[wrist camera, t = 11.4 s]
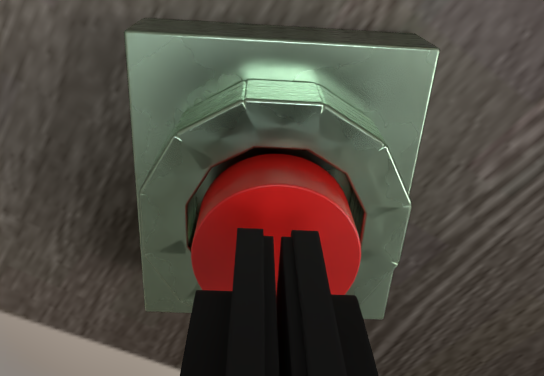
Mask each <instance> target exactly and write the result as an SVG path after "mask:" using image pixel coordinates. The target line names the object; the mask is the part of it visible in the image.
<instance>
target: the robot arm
mask: <svg viewBox="0 0 544 376" xmlns="http://www.w3.org/2000/svg"><path fill="white" fill-rule="evenodd" d="M180 376H378V372H377V368H376V365H375V361H374V357H373V353H372V350H371V346H370V342H369V339H368V335H367V331H366V327H365V324H364V320H363V316H362V313H361V309H360V305H359V302H358V299H357V297H356V296H355V295H335V294H331V292H330V287H329V282H328V277H327V272H326V267H325V261H324V256H323V251H322V246H321V241H320V236H319V232H318V231H307V230H292V231H291V237H283V236H282V237H281V244H280V256H279V269H278V281H277V294H276V282H275V259H274V237H273V236H264V234H263V229H256V228H237V239H236V252H235V264H234V277H233V290H232V291H214V290H196V292H195V296H194V302H193V307H192V313H191V318H190V324H189V329H188V334H187V340H186V345H185V351H184V356H183V362H182V367H181V373H180Z"/></svg>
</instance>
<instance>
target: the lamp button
mask: <svg viewBox="0 0 544 376" xmlns="http://www.w3.org/2000/svg"><path fill="white" fill-rule="evenodd" d="M237 228H256V229H263V234H264V236H273V237H274V259H275V282H276V294H277V281H278V269H279V256H280V244H281V237H282V236H283V237H291V231H292V230H307V231H318V232H319V236H320V241H321V246H322V251H323V256H324V261H325V267H326V272H327V277H328V282H329V287H330V292H331V294H335V295H345V294H346V292H347V291H348V290H349V289H350V287H351V285H352V284H353V282H354V280H355V278H356V275H357V273H358V270H359V266H360V261H361V244H360V239H359V235H358V232H357V229H356V226H355V223H354V220H353V216H352V213H351V210H350V207H349V204H348V201H347V199H346V196H345V194H344V192H343V190H342V188H341V186H340V185H339V184H338V182H337V181H336V180H335V179H334V177H333V176H331V175H330V174H329V173H328V172H327V171H326V170H325V169H323V168H322V167H320V166H319V165H317V164H315V163H313V162H311V161H309V160H306V159H304V158H301V157H297V156H293V155H287V154H264V155H258V156H254V157H250V158H247V159H244V160H242V161H239V162H237V163H236V164H234V165H232V166H230V167H229V168H227V169H226V170H225V171H223V172H222V173H221V174H220V175H219V176H218V177H217V178H216V179H215V180H214V181H213V183H212V184H211V185H210V186H209V188H208V190H207V192H206V193H205V195H204V198H203V200H202V203H201V207H200V212H199V216H198V220H197V225H196V229H195V233H194V237H193V242H192V246H191V262H192V268H193V272H194V275H195V277H196V279H197V282H198V284H199V285H200V287H201V289H202V290H214V291H232V290H233V277H234V264H235V252H236V239H237Z"/></svg>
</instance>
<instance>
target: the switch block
mask: <svg viewBox="0 0 544 376" xmlns="http://www.w3.org/2000/svg"><path fill="white" fill-rule="evenodd" d="M124 39H125V53H126V66H127V79H128V92H129V105H130V119H131V132H132V145H133V158H134V171H135V185H136V198H137V211H138V224H139V238H140V251H141V264H142V277H143V290H144V304H145V310H146V311H148V312H178V313H192V307H193V302H194V296H195V292H196V290H202V289H201V287H200V285H199V284H198V282H197V279H196V277H195V275H194V272H193V268H192V262H191V246H192V242H193V237H194V233H195V229H196V225H197V220H198V216H199V212H200V207H201V203H202V200H203V198H204V195H205V193H206V192H207V190H208V188H209V186H210V185H211V184H212V183H213V181H214V180H215V179H216V178H217V177H218V176H219V175H220V174H221V173H222V172H223V171H225V170H226V169H227V168H229V167H230V166H232V165H234V164H236V163H237V162H239V161H242V160H244V159H247V158H250V157H254V156H258V155H264V154H287V155H293V156H297V157H301V158H304V159H306V160H309V161H311V162H313V163H315V164H317V165H319V166H320V167H322V168H323V169H325V170H326V171H327V172H328V173H329V174H330V175H331V176H333V177H334V179H335V180H336V181H337V182H338V184H339V185H340V186H341V188H342V190H343V192H344V194H345V196H346V199H347V201H348V204H349V207H350V210H351V213H352V216H353V220H354V223H355V226H356V229H357V232H358V235H359V239H360V244H361V261H360V266H359V270H358V273H357V275H356V278H355V280H354V282H353V284H352V285H351V287H350V289H349V290H348V291H347V292H346V294H345V295H355V296H356V297H357V299H358V302H359V305H360V309H361V313H362V316H363V319H383V318H384V314H385V309H386V304H387V300H388V295H389V290H390V285H391V281H392V276H393V271H394V269H395V268H396V267H397V265H398V263H399V262H400V258H401V253H402V248H403V244H404V239H405V234H406V230H407V225H408V221H409V216H410V211H411V207H412V206H411V199H410V197H409V195H410V190H411V186H412V181H413V176H414V171H415V167H416V162H417V157H418V152H419V148H420V143H421V138H422V133H423V129H424V124H425V119H426V114H427V110H428V105H429V100H430V95H431V91H432V86H433V81H434V76H435V72H436V67H437V62H438V57H439V53H440V49H439V48H438V47H436V46H435V45H433V44H431V43H430V42H428V41H426V40H425V39H423V38H421V37H420V36H418V35H417V34H412V33H394V32H377V31H360V30H343V29H326V28H309V27H292V26H275V25H258V24H241V23H224V22H207V21H190V20H173V19H156V18H143V19H141V20H140V21H138V22H137V23H135V24H134V25H132V26H131V27H129V28H128V29H126V30H125V32H124Z"/></svg>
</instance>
